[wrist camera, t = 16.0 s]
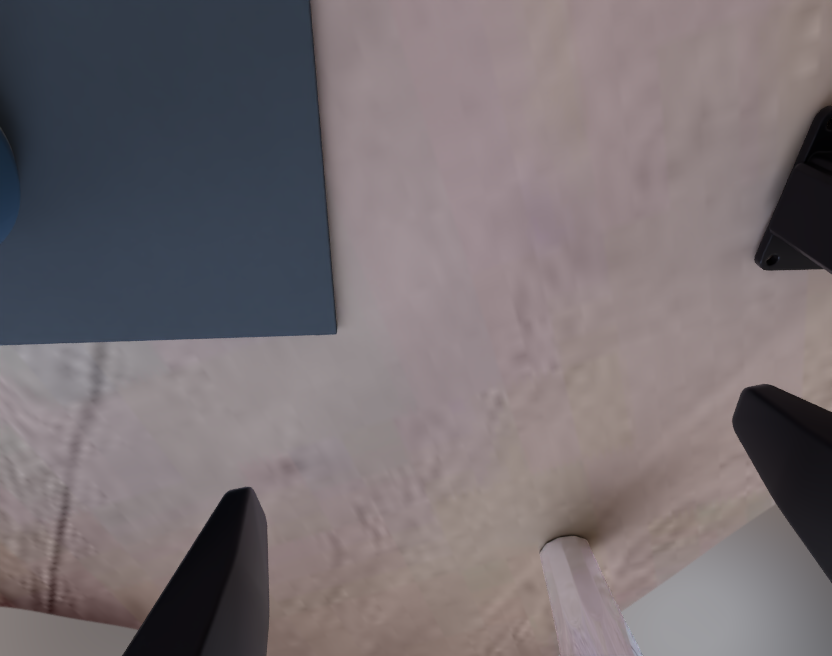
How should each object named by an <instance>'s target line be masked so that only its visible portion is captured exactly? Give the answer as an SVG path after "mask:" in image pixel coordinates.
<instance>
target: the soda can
mask: <svg viewBox="0 0 832 656" xmlns="http://www.w3.org/2000/svg"><path fill="white" fill-rule="evenodd" d="M20 195H21V191H20V181H19V175H18V170H17V166H16V162H15V158H14V155H13V152H12V149H11V146H10V144H9V142H8V140H7V138H6V136H5V134H4V132H3V131H2V129H1V127H0V243H2V242H3V241H4V239H5V238H6V237H7V236H8V235H9V233H10V232H11V230H12V228H13V226H14V224H15V222H16V219H17V216H18V212H19V208H20Z"/></svg>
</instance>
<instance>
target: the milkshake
mask: <svg viewBox="0 0 832 656" xmlns="http://www.w3.org/2000/svg"><path fill="white" fill-rule="evenodd" d="M540 558H541V563H542V568H543V572H544V577H545V582H546V586H547V591H548V596H549V600H550V605H551V610H552V614H553V619H554V624H555V628H556V633H557V639H558V644H559V650H560V655H561V656H643V654H642V653H641V651H640V649H639V647H638V645H637V643H636V641H635V639H634V637H633V635H632V633H631V631H630V629H629V627H628V625H627V623H626V621H625V620H624V617H623V616H622V614H621V611H620V609H619V607H618V605H617V603H616V601H615V599H614V597H613V595H612V592H611V590H610V588H609V586H608V584H607V582H606V580H605V577H604V575H603V573H602V571H601V569H600V567H599V565H598V562H597V560H596V558H595V556H594V554H593V552H592V550H591V547H590V545H589V543H588V541H587V540H586V539H583V538H580V537H578V536H566V537H559V538H557V539H555V540H553V541H551V542H549V543H547V544H545V546H544V548H543V549H542V551H541V552H540Z"/></svg>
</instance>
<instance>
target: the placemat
mask: <svg viewBox="0 0 832 656" xmlns="http://www.w3.org/2000/svg"><path fill="white" fill-rule="evenodd" d="M0 127H1V129H2V131H3V132H4V134H5V136H6V138H7V140H8V142H9V144H10V146H11V149H12V152H13V155H14V158H15V162H16V166H17V170H18V175H19V181H20V191H21V195H20V208H19V212H18V216H17V219H16V222H15V224H14V226H13V228H12V230H11V232H10V233H9V235H8V236H7V237H6V238H5V239H4V241H3V242H2V243H0V345H22V344H53V343H84V342H115V341H145V340H176V339H207V338H238V337H269V336H299V335H330V334H336V333H337V324H336V312H335V300H334V288H333V275H332V263H331V251H330V239H329V227H328V214H327V202H326V190H325V178H324V166H323V154H322V141H321V129H320V117H319V105H318V93H317V80H316V68H315V56H314V44H313V32H312V20H311V7H310V0H0Z"/></svg>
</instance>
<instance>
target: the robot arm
mask: <svg viewBox="0 0 832 656" xmlns="http://www.w3.org/2000/svg"><path fill="white" fill-rule="evenodd" d="M831 118H832V106H827V107H825V108H824V109H822V110H821V111H820V112H819V113H818V114H817V115H816V116H815V118H814V120H813V122H812V124H811V126H810V129H809V131H808V133H807V136H806V138H805V140H804V143H803V145H802V147H801V150H800V152H799V155H798V157H797V159H796V162H795V164H794V166H793V169H792V171H791V173H790V176H789V178H788V180H787V183H786V185H785V187H784V190H783V192H782V194H781V197H780V199H779V201H778V204H777V206H776V208H775V211H774V213H773V215H772V218H771V220H770V222H769V225H768V227H767V229H766V232H765V234H764V236H763V239H762V241H761V243H760V246H759V248H758V250H757V253H756V255H755V259H754V260H755V263H756V264H757V265H758V266H759V267H761V268H762V269H763V270H808V269H825V270H826V271H828V272H829V273H831V274H832V122H831V123H830V124H829V125H828V126H827V122H828V121H829V120H830V119H831ZM771 255H772V256H771ZM770 256H771V258H770V259H768V257H770ZM767 259H768V260H767ZM732 423H733V428H734V431H735V433H736V435H737V436H738V438H739V440H740V442H741V443H742V445H743V447H744V449H745V450H746V452H747V454H748V456H749V457H750V459H751V461H752V463H753V465H754V466H755V468H756V470H757V472H758V473H759V475H760V477H761V479H762V480H763V482H764V484H765V486H766V487H767V489H768V491H769V493H770V494H771V496H772V498H773V499H774V501H775V503H776V504H777V506H778V507H779V508H780V510H781V512H782V513H783V514H784V516H785V518H786V519H787V520H788V522H789V523H790V525H791V526H792V527H793V529H794V530H795V532H796V533H797V534H798V536H799V537H800V538H801V540H802V541H803V543H804V544H805V546H806V547H807V549H808V550H809V551H810V553H811V554H812V556H813V557H814V558H815V560H816V561H817V563H818V564H819V565H820V567H821V568H822V570H823V571H824V573H825V574H826V576H827V577H828V578H829V580H830V581H831V583H832V412H830V411H828V410H826V409H823V408H821V407H819V406H817V405H815V404H812V403H810V402H808V401H806V400H803V399H801V398H799V397H797V396H795V395H792V394H790V393H788V392H786V391H783V390H781V389H779V388H777V387H775V386H772V385H769V384H761V385H756V386H751V387H747V388H745V389H744V390H743V391H742V392H741V395H740V398H739V401H738V403H737V406H736V409H735V412H734V415H733V418H732ZM268 629H269V575H268V540H267V521H266V517H265V514H264V511H263V509H262V507H261V505H260V502H259V500H258V498H257V496H256V494H255V492H254V490H253V489H252V488H251V487H243V488H238V489H233V490H230V491H228V492H227V493H226V494H225V495H224V496H223V498H222V499H221V501H220V502H219V504H218V506H217V507H216V509H215V510H214V512H213V513H212V515H211V517H210V518H209V520H208V521H207V523H206V524H205V526H204V528H203V529H202V531H201V532H200V534H199V535H198V537H197V539H196V540H195V542H194V543H193V545H192V547H191V548H190V550H189V551H188V553H187V554H186V556H185V558H184V559H183V561H182V562H181V564H180V565H179V567H178V569H177V570H176V572H175V573H174V575H173V576H172V578H171V580H170V581H169V583H168V584H167V586H166V588H165V589H164V591H163V592H162V594H161V595H160V597H159V599H158V600H157V602H156V603H155V605H154V606H153V608H152V610H151V611H150V613H149V614H148V616H147V617H146V619H145V621H144V622H143V624H142V625H141V627H140V628H139V630H138V632H137V633H136V635H135V636H134V638H133V640H132V641H131V643H130V644H129V646H128V647H127V649H126V651H125V652H124V654H123V655H122V656H266V653H267V641H268Z"/></svg>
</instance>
